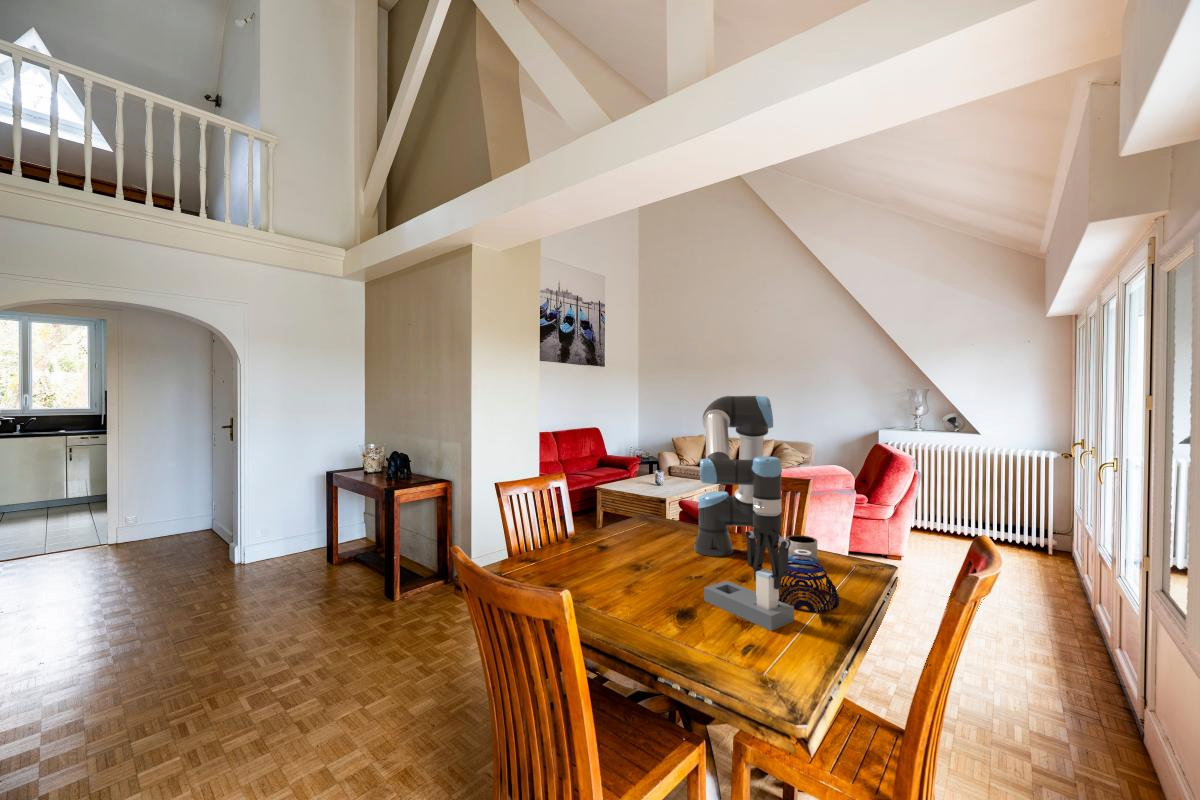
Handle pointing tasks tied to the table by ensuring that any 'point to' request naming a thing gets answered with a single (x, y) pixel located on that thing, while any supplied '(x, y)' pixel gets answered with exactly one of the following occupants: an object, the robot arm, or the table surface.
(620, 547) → the table surface
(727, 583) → the gray socket block
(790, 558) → the decorative bowl
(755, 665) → the table surface
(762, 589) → the plug
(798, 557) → the planter
